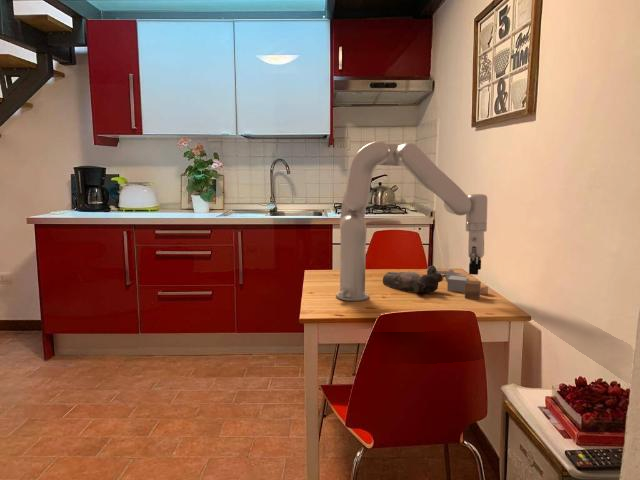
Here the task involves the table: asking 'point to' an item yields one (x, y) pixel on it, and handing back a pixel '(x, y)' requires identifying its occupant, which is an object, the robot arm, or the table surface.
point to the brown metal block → (472, 289)
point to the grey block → (456, 283)
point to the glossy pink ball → (483, 290)
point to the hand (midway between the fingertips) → (475, 271)
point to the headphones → (443, 272)
